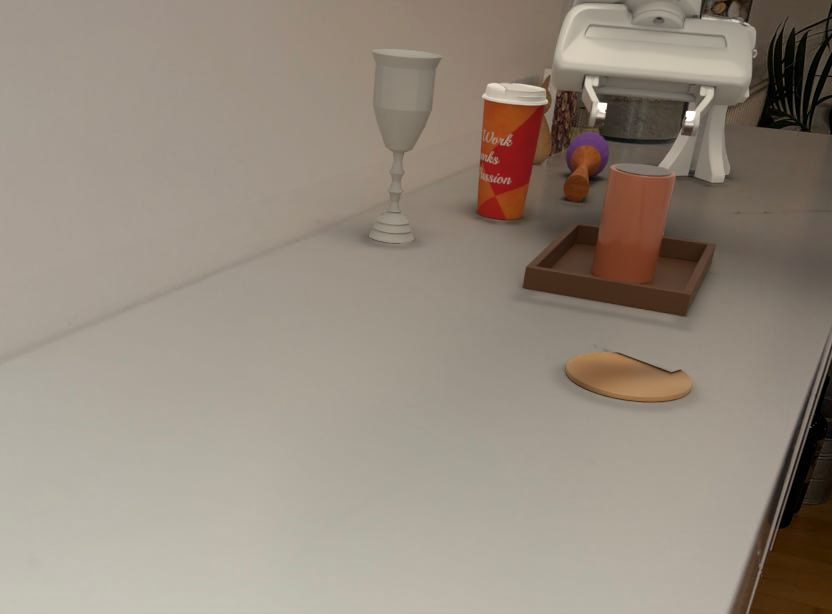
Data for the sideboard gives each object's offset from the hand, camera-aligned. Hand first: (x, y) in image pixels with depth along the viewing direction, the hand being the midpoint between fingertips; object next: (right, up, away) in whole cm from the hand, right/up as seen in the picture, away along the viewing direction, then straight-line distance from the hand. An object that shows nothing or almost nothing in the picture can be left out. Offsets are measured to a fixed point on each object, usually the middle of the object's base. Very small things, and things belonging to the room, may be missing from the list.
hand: (643, 127), depth 111 cm
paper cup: (-12, -1, +22) cm, 25 cm away
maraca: (+2, +10, +38) cm, 40 cm away
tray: (-2, -16, 0) cm, 16 cm away
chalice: (-25, -8, +9) cm, 28 cm away
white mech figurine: (+22, +17, +51) cm, 58 cm away
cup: (-2, -15, 0) cm, 15 cm away
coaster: (-8, -31, -24) cm, 40 cm away
